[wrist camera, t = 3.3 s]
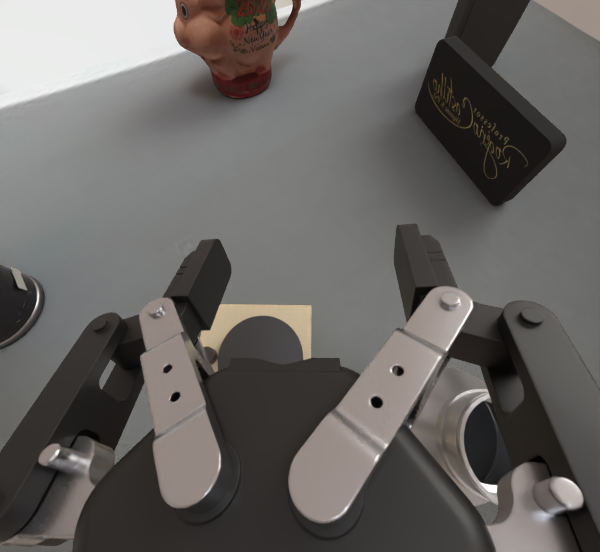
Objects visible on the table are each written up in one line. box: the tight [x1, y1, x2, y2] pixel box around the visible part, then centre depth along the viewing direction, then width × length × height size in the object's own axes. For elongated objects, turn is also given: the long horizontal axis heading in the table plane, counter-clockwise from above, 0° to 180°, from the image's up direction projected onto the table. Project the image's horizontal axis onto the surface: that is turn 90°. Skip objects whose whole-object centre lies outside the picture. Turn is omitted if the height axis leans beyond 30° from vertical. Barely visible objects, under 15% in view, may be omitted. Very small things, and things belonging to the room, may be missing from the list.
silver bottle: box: [411, 366, 513, 506], centre depth 19 cm, size 6×7×20 cm
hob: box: [200, 304, 312, 372], centre depth 27 cm, size 12×22×3 cm, turn 179°
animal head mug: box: [174, 0, 301, 98], centre depth 43 cm, size 20×12×14 cm, turn 122°
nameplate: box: [415, 36, 566, 205], centre depth 37 cm, size 21×2×10 cm, turn 22°
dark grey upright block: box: [445, 0, 530, 67], centre depth 42 cm, size 9×4×15 cm, turn 92°
